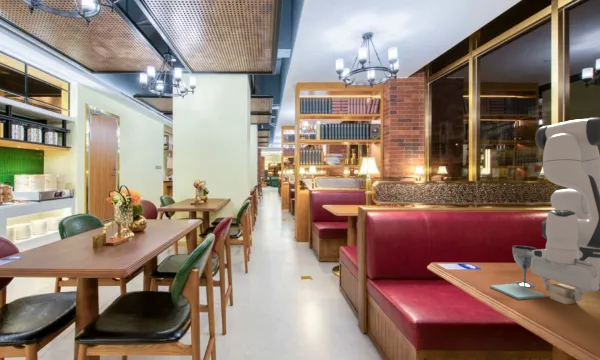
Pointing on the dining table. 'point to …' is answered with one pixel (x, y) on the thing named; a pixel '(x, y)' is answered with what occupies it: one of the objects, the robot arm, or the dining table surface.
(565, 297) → the cube
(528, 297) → the pad
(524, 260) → the wine glass
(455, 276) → the dining table surface
